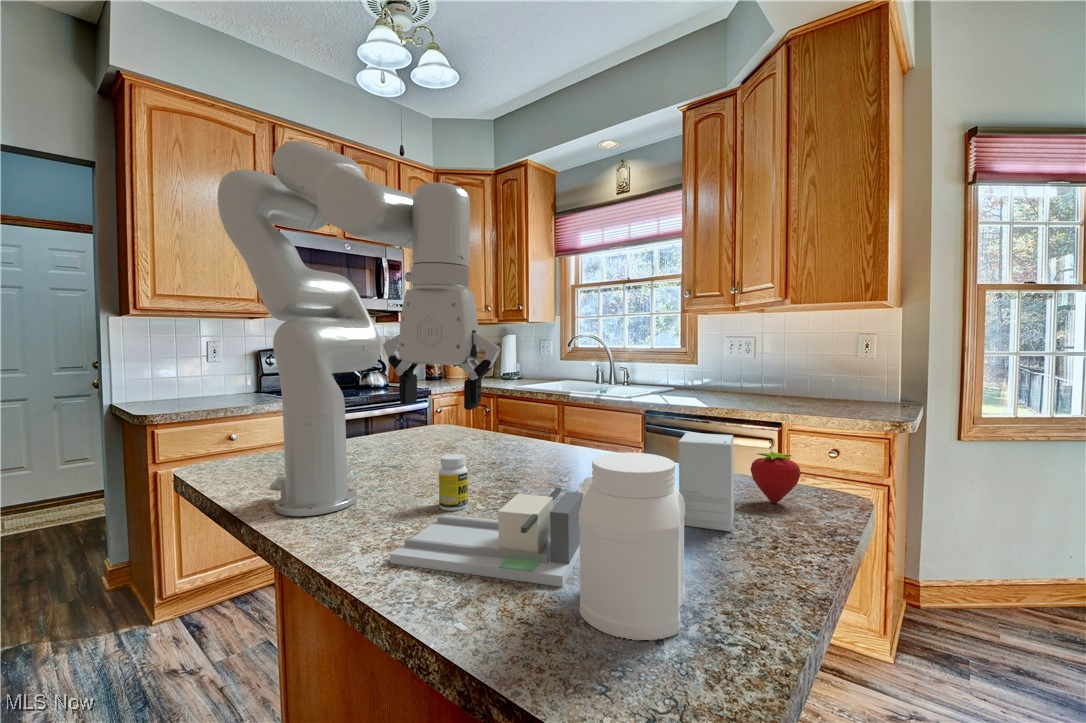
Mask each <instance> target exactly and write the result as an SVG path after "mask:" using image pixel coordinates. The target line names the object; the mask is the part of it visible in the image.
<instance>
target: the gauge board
mask: <svg viewBox="0 0 1086 723" xmlns="http://www.w3.org/2000/svg"><path fill="white" fill-rule="evenodd" d="M582 500H583V493H579V492H578V491H577V492H575V491H566V492H565V493H564V494H563V495H562V496H561V498H560V499H559V500H558V501H557V502H556V504H555V505H553V509H552V510H551V511H550V539H549V541H548V542H547V544H546V545H545V547H544V548H543V549H542V551H541V552H540V554H538V553H529V552H521V551H512V550H504V549H499V526H498V519H490V518H479V517H469V516H461V515H460V516H459V515H452V514H451V515H450V514H444V515H438V516H437V517H436V520H435V521H433V523H431V524H430V525H429V526H427V527H425V528H424V529H423V530H421V531H420V532H418V533H417V534H416V535H414V536H413V537H410V538H409V537H407V538H406V539H404V543H403V544H402V545H400V546H399V547H397V548H396V549H395V550H393V551H392V552H391V553H389V561H390V562H389V563H390V564H392V565H398V566H399V565H401V566H406V567H414V568H421V569H430V570H437V571H444V572H445V571H446V572H452V573H456V574H457V573H459V574H464V575H465V574H466V575H474V576H480V577H488V578H495V579H503V580H509V581H516V582H525V583H531V584H537V585H538V584H539V585H546V586H554V587H561V588H562V587H564V585H565V583H566V581H567V579H568V577H569V575H570V573H571V572H572V570H573V567H574V566H575V563H576V561H577V559H578V558H579V557H580V526H579V512H580V507H581V503H582Z"/></svg>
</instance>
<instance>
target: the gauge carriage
mask: <svg viewBox="0 0 1086 723" xmlns="http://www.w3.org/2000/svg"><path fill="white" fill-rule="evenodd" d="M561 493H562V488H561V487H555V489H554V490H553V491H552V492H551V493H550V494H549V495H548V496H546V495H537V494H536V495H533V494H523V493H522V494H521V493H517V494H516V495H515V496H514V497H512V498H511V499H510V500H509V501H508V502H507V503H506V504H505V505H503V506H502V508H500V509H499V510H498V511H497V514H498V518H497V520H498V526H499V549H504V550H512V551H521V552H529V553H538V554H540V552H541V551H542V549H543V548H544V547H545V545H546V544H547V542H548V541H549V539H550V511H551V510H552V509H553V508H554V501H555V499H557V498H558V496H559V495H560V494H561Z"/></svg>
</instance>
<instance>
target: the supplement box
mask: <svg viewBox="0 0 1086 723" xmlns="http://www.w3.org/2000/svg"><path fill="white" fill-rule="evenodd" d="M677 445H678V448H677V449H678V491H679V492H680V494H681V495H682V496H683V498H684V503H685V515H684V527H685V526H687V527H693V528H694V527H695V528H702V529H710V530H715V531H724V532H732V529H733V522H734V517H735V492H734V490H735V486H734V485H735V484H734V483H735V479H734V472H735V471H734V470H735V468H734V463H735V462H734V460H735V458H734V455H735V454H734V434H719V433H718V434H717V433H716V434H715V433H701V432H700V433H698V432H697V433H696V432H685V433H684V435H683V436H681V438H680V439H679V440H678V441H677Z"/></svg>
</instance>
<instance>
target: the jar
mask: <svg viewBox="0 0 1086 723" xmlns="http://www.w3.org/2000/svg"><path fill="white" fill-rule="evenodd" d="M591 467H592V471H591V475H592V476H591V477H592V484H591V486H590V487H589V489H588V491H587V493H586V495H585V497H584V499H583V500H582V503H581V507H580V512H579V526H580V554H579V561H580V562H579V568H580V570H579V572H580V573H579V574H580V575H579V576H580V577H579V578H580V580H579V582H580V583H579V585H580V586H579V587H580V589H579V590H580V594H579V595H580V598H579V615H580V616H581V617H582V619H583V620H584V621H585V622H586V623H587V624H589V626H591V627H593V628H594V629H596V630H597V629H598V631H600V632H601V631H602V632H601V633H603V634H606V633H607V634H606V635H609V634H610V635H609V636H611V635H613V636H612V637H615V636H616V638H618V637H621V638H620V639H623V638H626V639H625V640H629V639H632V640H631V641H639V640H649V641H657V640H658V639H659V640H663V639H667V637H668V638H671V637H673V636H676V635H677V634H679V633H680V629H681V613H680V612H681V611H680V609H681V607H682V606H683V605H684V604H685V599H686V593H685V592H686V587H685V526H684V515H685V503H684V498H683V496H682V495H681V494H680V492H679V489H677V486H676V463H675V462H674V460H673V459H670V458H668V457H665V456H661V455H658V454H652V453H644V452H614V453H607V454H602V455H598V456H596V457H594V458H593V459H592V461H591Z"/></svg>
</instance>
